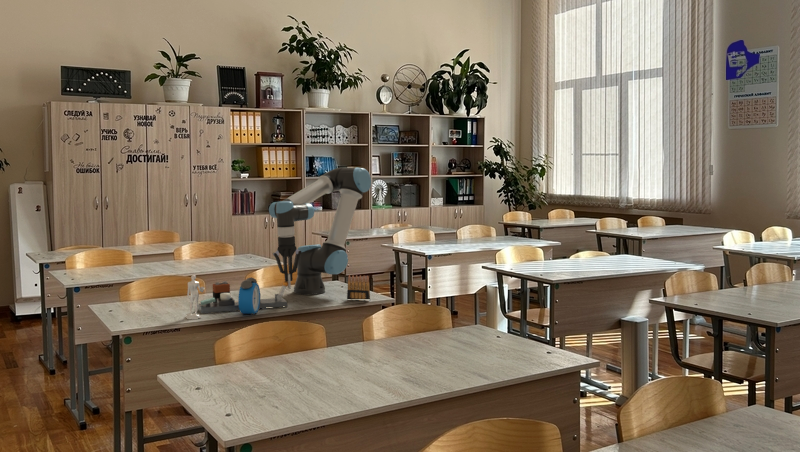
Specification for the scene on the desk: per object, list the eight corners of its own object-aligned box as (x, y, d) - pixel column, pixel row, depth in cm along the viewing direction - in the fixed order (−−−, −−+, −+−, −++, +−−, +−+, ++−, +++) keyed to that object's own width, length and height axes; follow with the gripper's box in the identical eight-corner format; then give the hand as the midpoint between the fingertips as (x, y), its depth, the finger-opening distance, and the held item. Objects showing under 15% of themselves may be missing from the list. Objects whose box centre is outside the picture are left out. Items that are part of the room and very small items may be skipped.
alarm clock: (252, 317, 306) (251, 281, 304) (237, 317, 306) (237, 281, 305) (260, 310, 319) (260, 276, 317) (246, 310, 319) (246, 276, 318)
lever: (281, 298, 330) (288, 281, 330) (282, 299, 328) (289, 282, 328) (275, 296, 329) (283, 279, 330) (277, 297, 327) (284, 280, 327)
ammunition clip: (346, 300, 341) (346, 274, 339) (348, 299, 342) (348, 274, 341) (369, 301, 338) (369, 275, 337) (370, 300, 340) (370, 275, 339)
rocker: (214, 300, 320) (214, 297, 319) (215, 301, 317) (215, 298, 316) (200, 303, 318) (200, 301, 317) (201, 305, 315) (201, 302, 314)
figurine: (205, 315, 309) (203, 272, 308) (206, 318, 303) (205, 275, 301) (184, 316, 307) (183, 274, 305) (185, 320, 300) (183, 276, 298)
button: (230, 299, 323) (229, 292, 322) (231, 301, 318) (231, 294, 318) (219, 299, 321) (219, 293, 321) (221, 301, 317) (221, 295, 317)
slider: (259, 298, 328) (259, 292, 328) (260, 299, 326) (260, 293, 326) (255, 299, 328) (255, 292, 327) (256, 300, 326) (256, 293, 325)
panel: (282, 303, 334) (282, 292, 333) (287, 307, 325) (287, 296, 325) (198, 309, 320) (198, 298, 320) (201, 313, 312) (200, 302, 311)
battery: (230, 303, 332) (230, 282, 331) (215, 305, 329) (215, 283, 327) (227, 302, 336) (226, 280, 335) (212, 303, 332) (212, 281, 331)
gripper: (297, 234, 332) (300, 285, 335) (270, 236, 328) (273, 288, 330) (302, 235, 325) (304, 288, 328) (274, 238, 321) (277, 291, 323)
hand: (289, 288), depth 329 cm, fingers closed
